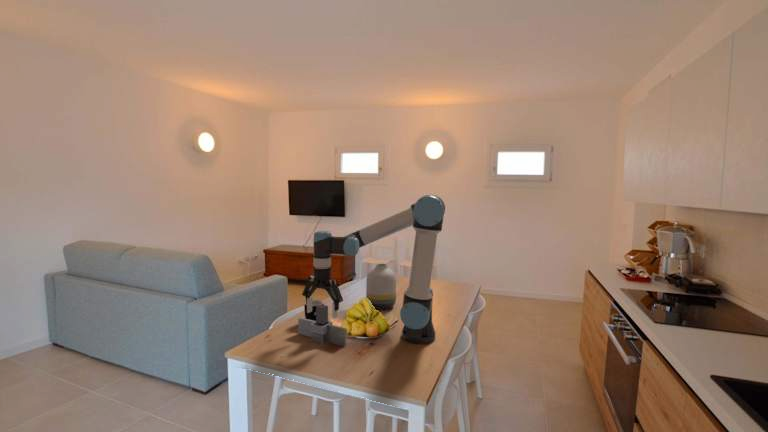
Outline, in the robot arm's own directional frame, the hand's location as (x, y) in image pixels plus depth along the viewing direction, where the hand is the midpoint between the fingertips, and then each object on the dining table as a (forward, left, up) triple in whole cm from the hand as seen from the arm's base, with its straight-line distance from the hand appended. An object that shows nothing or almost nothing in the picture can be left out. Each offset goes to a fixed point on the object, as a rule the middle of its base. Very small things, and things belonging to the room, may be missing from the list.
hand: (322, 314), depth 157 cm
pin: (0, 0, -11) cm, 11 cm away
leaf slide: (+5, 0, -11) cm, 12 cm away
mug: (+15, -15, -11) cm, 24 cm away
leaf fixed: (-5, 0, -11) cm, 12 cm away
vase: (-2, -52, -11) cm, 53 cm away
